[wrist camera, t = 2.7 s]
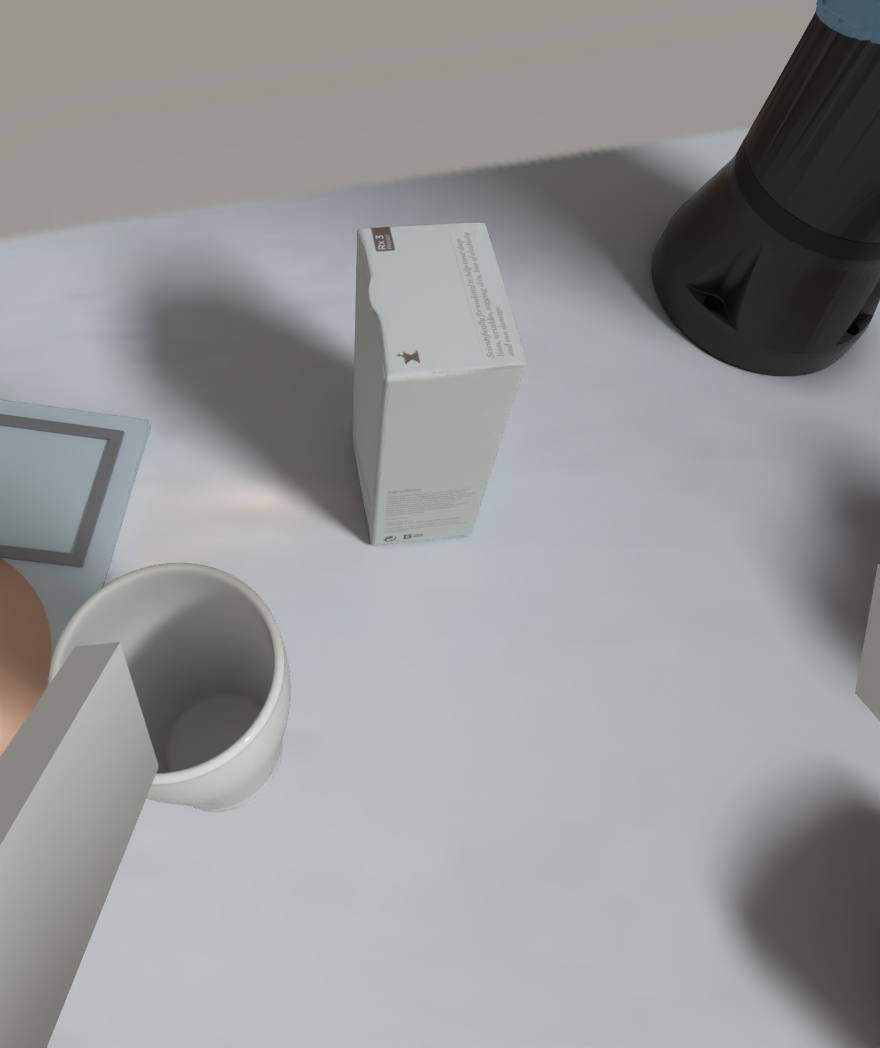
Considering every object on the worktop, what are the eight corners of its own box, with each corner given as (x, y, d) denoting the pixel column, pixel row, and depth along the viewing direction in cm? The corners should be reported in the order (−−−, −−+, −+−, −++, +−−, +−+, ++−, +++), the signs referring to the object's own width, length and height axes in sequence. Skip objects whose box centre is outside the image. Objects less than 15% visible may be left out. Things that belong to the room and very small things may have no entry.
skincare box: (471, 538, 42) (541, 374, 29) (363, 550, 41) (385, 384, 28) (444, 412, 46) (495, 215, 32) (344, 419, 44) (354, 217, 31)
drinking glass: (116, 784, 34) (-12, 711, 21) (205, 656, 37) (143, 521, 24) (246, 859, 34) (198, 833, 20) (325, 723, 37) (329, 623, 23)
